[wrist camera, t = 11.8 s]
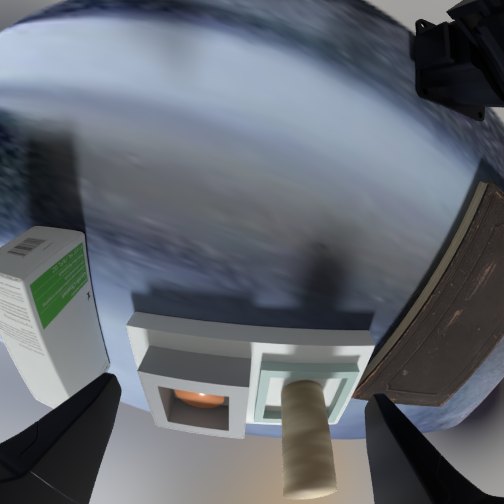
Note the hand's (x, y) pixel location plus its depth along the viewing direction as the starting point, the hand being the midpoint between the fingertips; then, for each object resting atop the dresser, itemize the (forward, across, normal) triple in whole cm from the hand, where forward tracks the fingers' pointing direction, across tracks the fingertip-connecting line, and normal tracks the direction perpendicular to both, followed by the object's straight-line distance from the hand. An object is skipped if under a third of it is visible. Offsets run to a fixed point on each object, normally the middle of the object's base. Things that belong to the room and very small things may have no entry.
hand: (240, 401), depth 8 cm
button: (+10, +4, +12) cm, 16 cm away
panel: (+12, 0, +13) cm, 17 cm away
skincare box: (+8, +17, -1) cm, 18 cm away
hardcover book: (+13, -21, +6) cm, 26 cm away
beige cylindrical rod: (+10, -5, +13) cm, 17 cm away
